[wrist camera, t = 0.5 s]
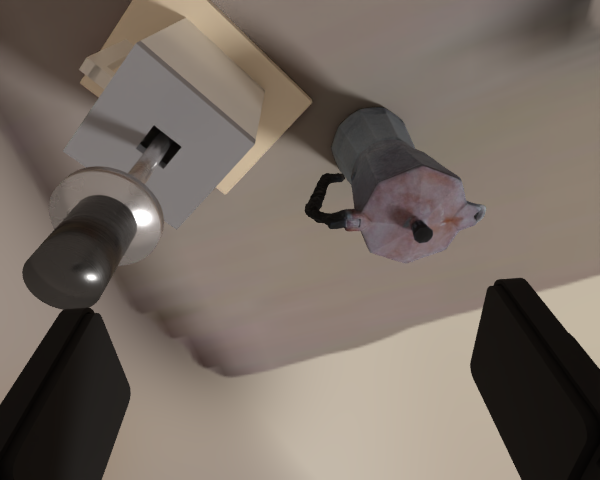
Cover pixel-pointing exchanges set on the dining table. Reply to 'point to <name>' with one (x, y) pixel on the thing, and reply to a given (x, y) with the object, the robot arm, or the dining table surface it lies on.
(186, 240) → the dining table surface
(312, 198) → the moka pot
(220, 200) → the dining table surface
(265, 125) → the white box
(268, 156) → the dining table surface
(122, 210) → the plunger
